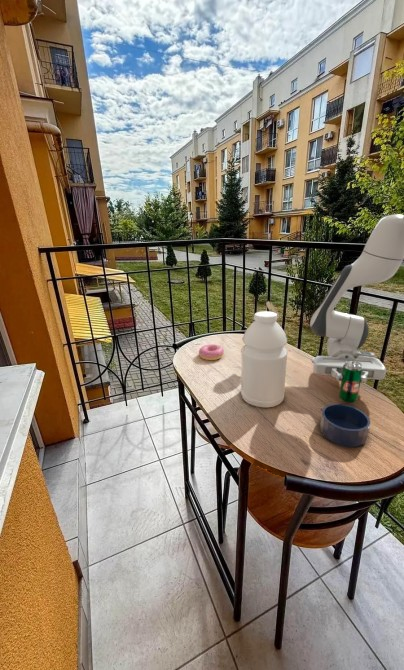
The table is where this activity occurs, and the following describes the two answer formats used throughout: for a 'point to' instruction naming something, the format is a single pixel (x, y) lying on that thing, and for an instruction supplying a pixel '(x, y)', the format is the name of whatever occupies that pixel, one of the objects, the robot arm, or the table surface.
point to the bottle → (263, 361)
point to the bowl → (344, 425)
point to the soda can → (350, 381)
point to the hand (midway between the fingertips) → (351, 379)
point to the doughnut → (211, 352)
